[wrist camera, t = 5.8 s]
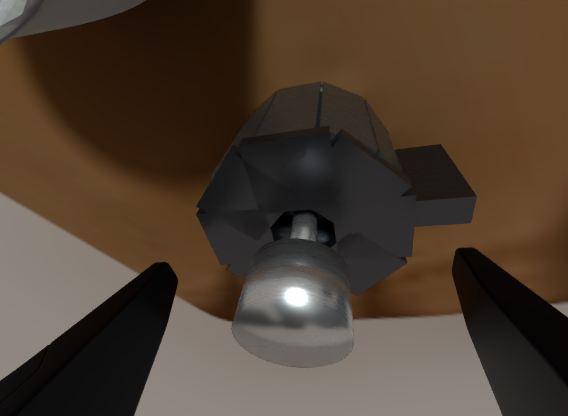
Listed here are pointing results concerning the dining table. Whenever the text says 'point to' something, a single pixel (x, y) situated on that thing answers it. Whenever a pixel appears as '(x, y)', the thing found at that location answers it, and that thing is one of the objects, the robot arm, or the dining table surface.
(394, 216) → the octagonal grey mug
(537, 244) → the dining table surface
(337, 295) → the plunger
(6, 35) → the teacup
